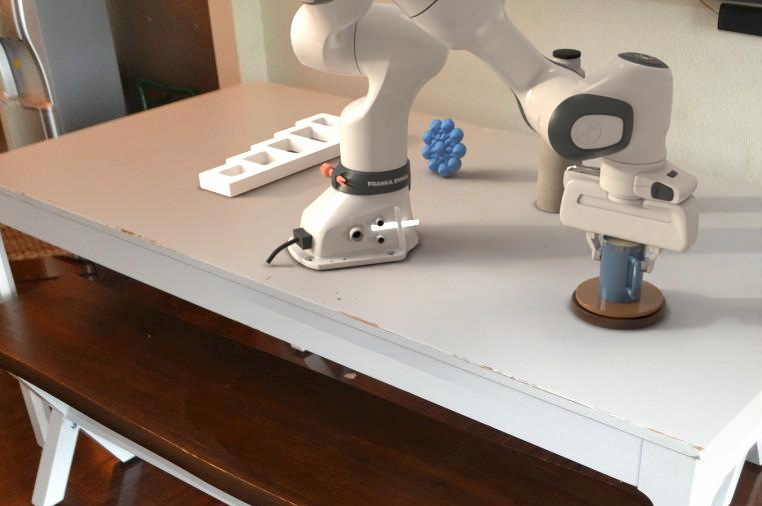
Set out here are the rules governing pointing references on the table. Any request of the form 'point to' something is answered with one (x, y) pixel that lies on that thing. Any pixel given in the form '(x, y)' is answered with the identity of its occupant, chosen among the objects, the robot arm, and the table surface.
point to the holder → (277, 156)
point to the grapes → (443, 147)
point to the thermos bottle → (549, 160)
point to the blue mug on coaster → (620, 282)
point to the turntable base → (615, 321)
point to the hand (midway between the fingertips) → (622, 265)
